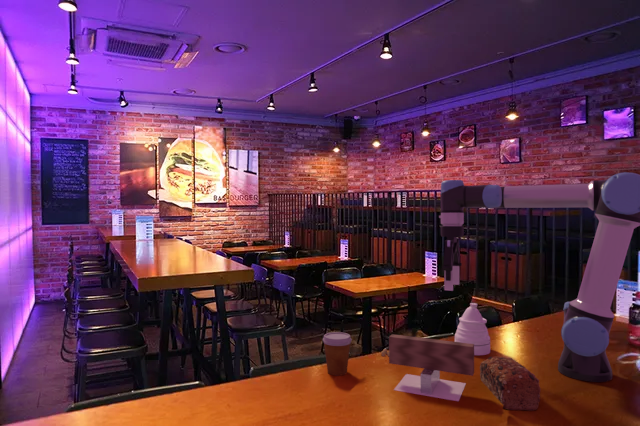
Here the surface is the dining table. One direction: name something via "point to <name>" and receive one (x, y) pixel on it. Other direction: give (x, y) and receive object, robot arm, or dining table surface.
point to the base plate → (442, 389)
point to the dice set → (385, 352)
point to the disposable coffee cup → (337, 352)
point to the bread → (511, 383)
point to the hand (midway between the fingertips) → (452, 287)
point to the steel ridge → (429, 380)
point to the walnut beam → (432, 354)
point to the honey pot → (473, 330)
